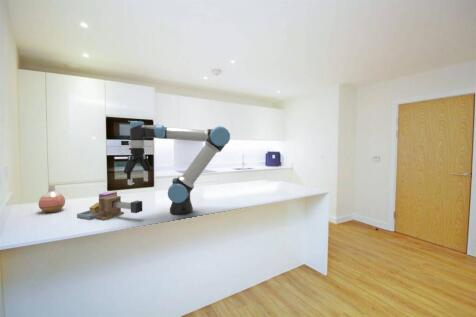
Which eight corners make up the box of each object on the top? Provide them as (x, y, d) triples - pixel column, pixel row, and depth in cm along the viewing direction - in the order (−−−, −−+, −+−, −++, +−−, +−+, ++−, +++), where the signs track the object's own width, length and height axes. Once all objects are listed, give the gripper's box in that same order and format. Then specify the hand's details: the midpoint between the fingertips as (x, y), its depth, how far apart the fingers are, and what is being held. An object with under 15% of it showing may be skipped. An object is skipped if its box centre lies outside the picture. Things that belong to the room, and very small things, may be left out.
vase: (55, 214, 143) (54, 186, 142) (32, 214, 142) (31, 186, 141) (70, 208, 157) (69, 183, 156) (49, 208, 156) (48, 183, 155)
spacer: (102, 203, 144) (97, 202, 146) (93, 208, 139) (89, 207, 140) (104, 209, 146) (99, 209, 147) (96, 215, 141) (91, 214, 142)
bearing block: (123, 213, 147) (123, 195, 146) (104, 220, 133) (104, 200, 133) (115, 212, 149) (115, 194, 149) (95, 219, 136) (95, 199, 135)
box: (106, 212, 150) (105, 194, 149) (98, 211, 151) (98, 193, 150) (117, 207, 160) (117, 191, 159) (110, 207, 161) (110, 190, 161)
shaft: (142, 210, 137) (142, 201, 136) (136, 213, 132) (136, 203, 132) (108, 206, 145) (108, 197, 144) (102, 208, 140) (101, 199, 139)
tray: (109, 213, 146) (109, 210, 146) (90, 220, 134) (90, 215, 134) (96, 212, 149) (96, 208, 149) (77, 217, 137) (77, 213, 137)
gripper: (146, 147, 147) (146, 179, 149) (115, 147, 123) (116, 186, 125) (155, 147, 145) (156, 180, 147) (127, 147, 121) (128, 187, 123)
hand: (138, 183), depth 136 cm, fingers open, 13 cm apart
